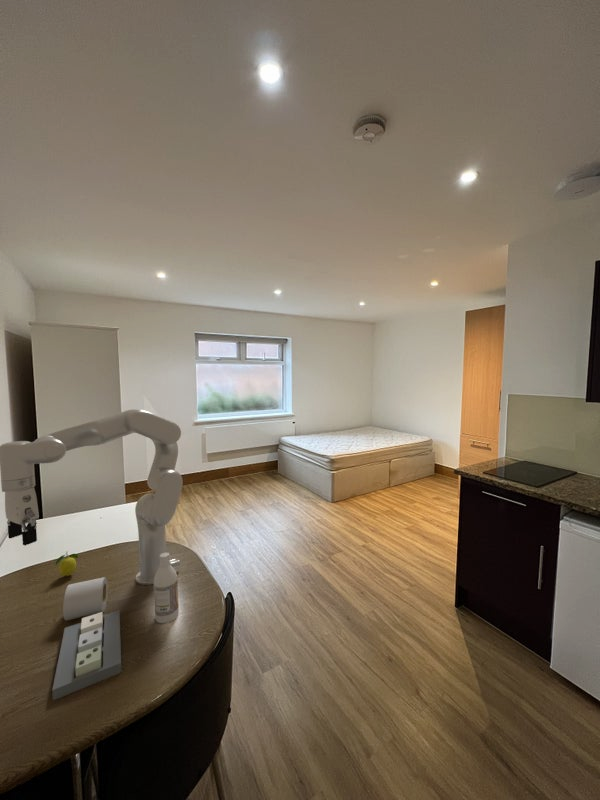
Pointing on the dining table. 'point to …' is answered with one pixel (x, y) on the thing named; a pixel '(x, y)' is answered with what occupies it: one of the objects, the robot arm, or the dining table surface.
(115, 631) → the board
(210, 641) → the dining table surface
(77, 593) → the toilet paper
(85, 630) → the tile one
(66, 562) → the lemon
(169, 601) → the bath foam
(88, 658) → the tile three
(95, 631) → the tile two
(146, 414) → the robot arm
